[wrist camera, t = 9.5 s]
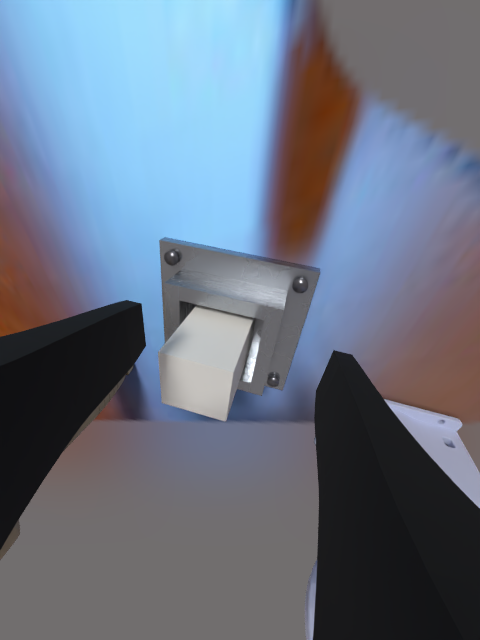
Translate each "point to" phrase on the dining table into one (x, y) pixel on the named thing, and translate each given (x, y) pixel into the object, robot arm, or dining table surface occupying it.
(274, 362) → the bracket
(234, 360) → the block
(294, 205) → the dining table surface
